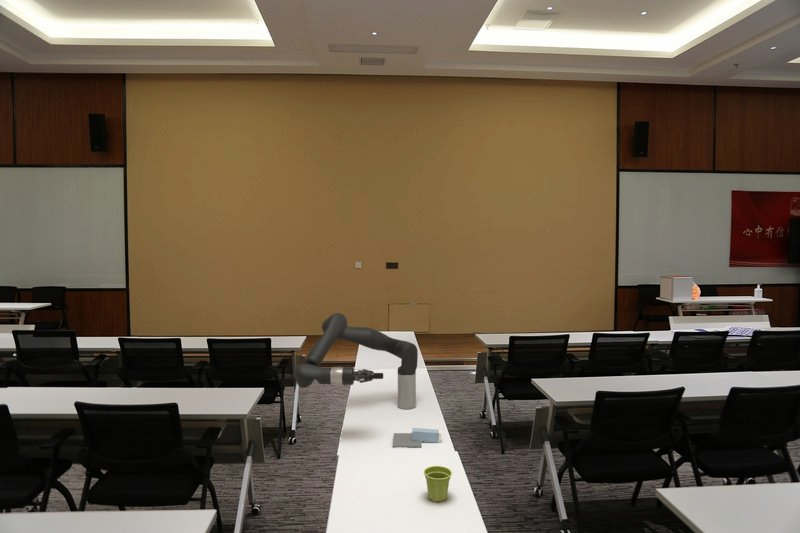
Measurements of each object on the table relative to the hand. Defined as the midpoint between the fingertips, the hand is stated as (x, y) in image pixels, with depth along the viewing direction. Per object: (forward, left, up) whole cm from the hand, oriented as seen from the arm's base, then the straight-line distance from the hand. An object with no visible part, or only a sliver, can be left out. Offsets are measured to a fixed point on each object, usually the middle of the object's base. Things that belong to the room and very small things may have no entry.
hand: (383, 375), depth 216 cm
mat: (0, +10, -28) cm, 30 cm away
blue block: (0, +12, -25) cm, 28 cm away
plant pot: (+47, +21, -28) cm, 59 cm away
